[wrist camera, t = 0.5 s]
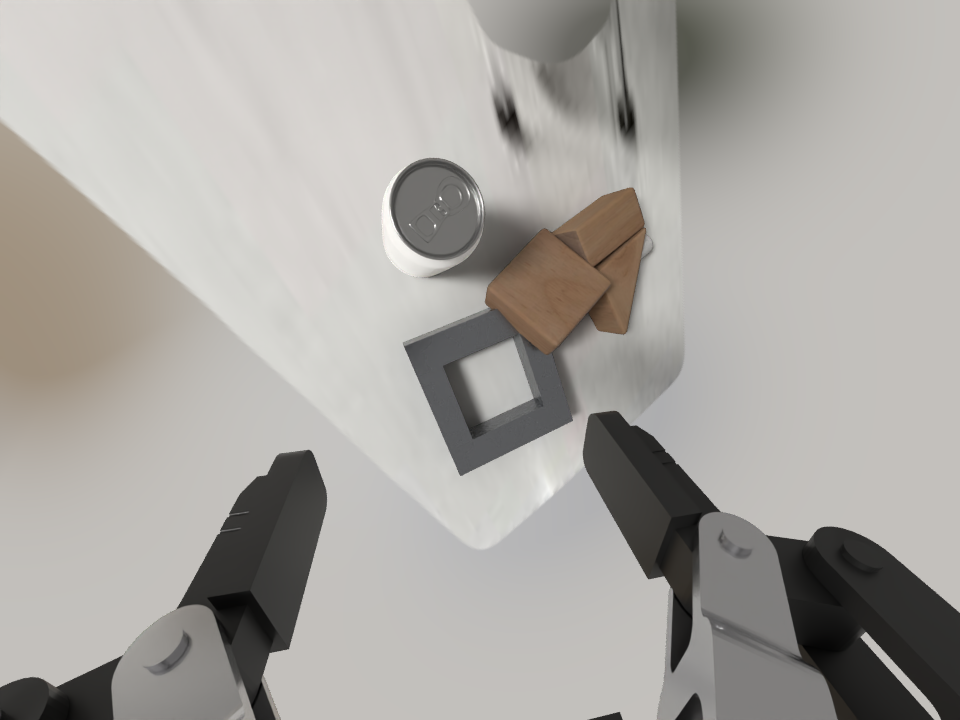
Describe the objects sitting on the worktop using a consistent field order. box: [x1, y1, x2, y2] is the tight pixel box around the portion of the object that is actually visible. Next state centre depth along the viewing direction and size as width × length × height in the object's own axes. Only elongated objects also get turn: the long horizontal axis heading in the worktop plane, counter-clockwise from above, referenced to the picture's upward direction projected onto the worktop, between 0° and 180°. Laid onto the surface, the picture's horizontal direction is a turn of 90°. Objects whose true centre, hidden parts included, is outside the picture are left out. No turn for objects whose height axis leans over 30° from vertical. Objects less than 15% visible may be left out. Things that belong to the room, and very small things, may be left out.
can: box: [382, 158, 485, 278], centre depth 26 cm, size 6×6×12 cm
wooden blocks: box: [485, 188, 653, 355], centre depth 34 cm, size 8×13×18 cm
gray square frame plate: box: [403, 308, 573, 476], centre depth 34 cm, size 14×13×2 cm
